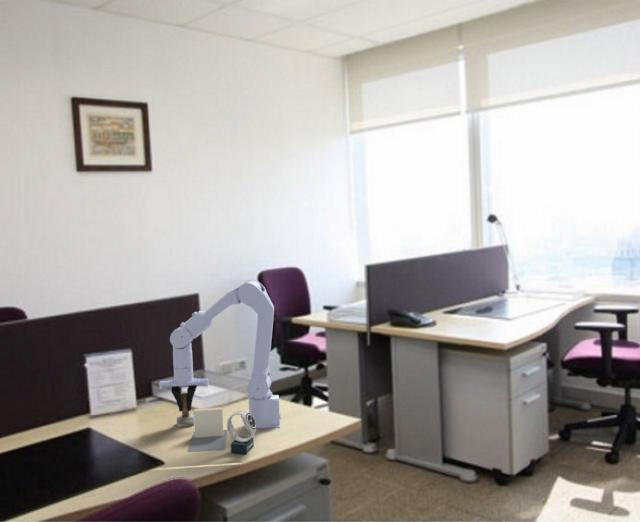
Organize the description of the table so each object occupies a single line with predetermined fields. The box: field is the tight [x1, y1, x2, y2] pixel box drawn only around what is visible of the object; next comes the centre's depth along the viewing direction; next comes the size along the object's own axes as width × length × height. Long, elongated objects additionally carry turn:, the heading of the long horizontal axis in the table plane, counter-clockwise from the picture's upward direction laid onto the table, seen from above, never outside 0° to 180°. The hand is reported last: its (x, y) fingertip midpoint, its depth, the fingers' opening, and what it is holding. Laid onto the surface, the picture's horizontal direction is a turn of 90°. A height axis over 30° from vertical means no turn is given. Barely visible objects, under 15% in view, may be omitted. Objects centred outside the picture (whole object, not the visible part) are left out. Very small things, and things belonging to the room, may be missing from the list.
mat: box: [187, 429, 229, 453], centre depth 174 cm, size 10×15×1 cm, turn 5°
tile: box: [193, 406, 224, 438], centre depth 177 cm, size 8×2×8 cm, turn 95°
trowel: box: [176, 392, 195, 428], centre depth 187 cm, size 5×3×10 cm, turn 95°
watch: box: [226, 410, 258, 455], centre depth 166 cm, size 6×8×11 cm
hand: (185, 410), depth 187 cm, fingers closed on trowel, 2 cm apart
